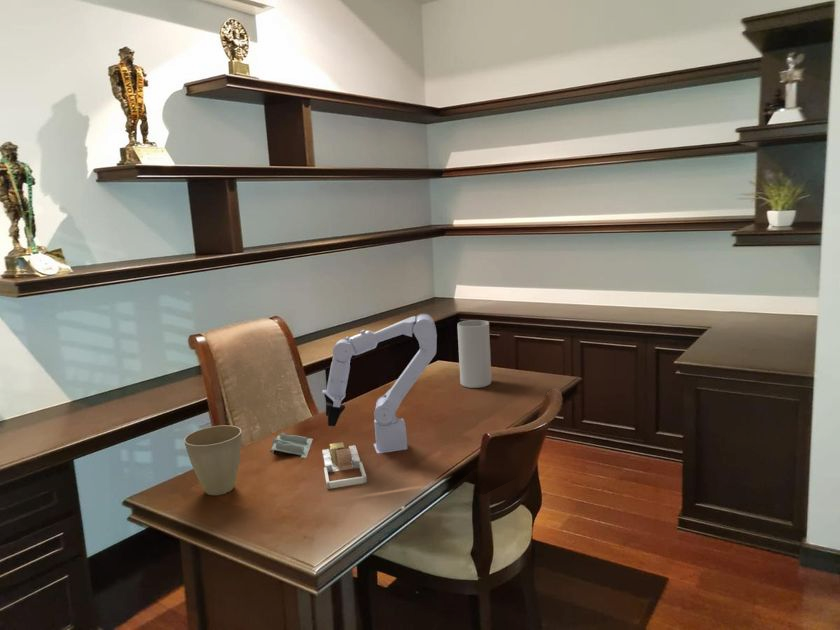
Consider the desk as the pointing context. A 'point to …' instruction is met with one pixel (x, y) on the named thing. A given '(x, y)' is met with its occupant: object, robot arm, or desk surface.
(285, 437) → the metal bracket
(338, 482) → the tray
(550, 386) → the desk surface
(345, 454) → the copper cube
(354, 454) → the aluminium channel
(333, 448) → the brass cube
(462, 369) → the cylinder vase
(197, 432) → the plant pot
